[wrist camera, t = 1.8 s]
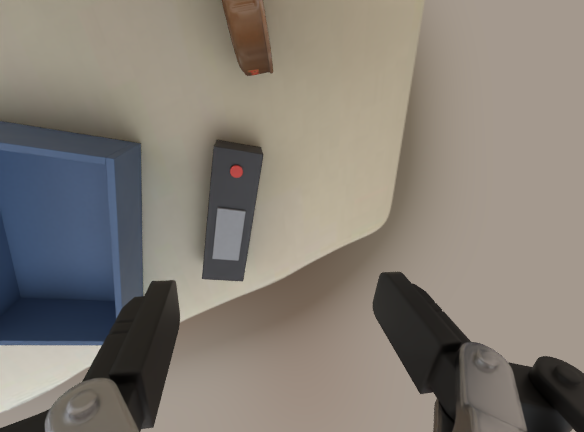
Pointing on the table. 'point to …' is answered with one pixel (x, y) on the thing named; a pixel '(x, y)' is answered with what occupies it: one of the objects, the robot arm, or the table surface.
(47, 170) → the open blue packaging tray
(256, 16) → the tin
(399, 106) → the table surface
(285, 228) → the table surface
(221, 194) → the remote
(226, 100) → the table surface
